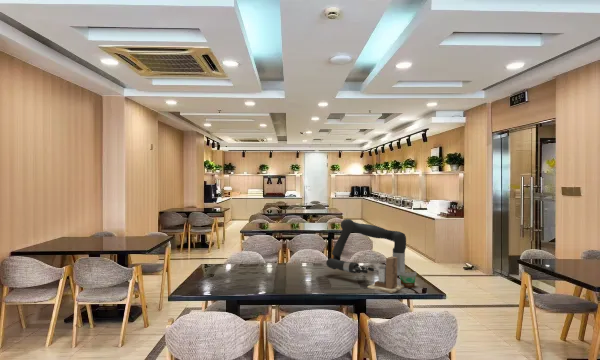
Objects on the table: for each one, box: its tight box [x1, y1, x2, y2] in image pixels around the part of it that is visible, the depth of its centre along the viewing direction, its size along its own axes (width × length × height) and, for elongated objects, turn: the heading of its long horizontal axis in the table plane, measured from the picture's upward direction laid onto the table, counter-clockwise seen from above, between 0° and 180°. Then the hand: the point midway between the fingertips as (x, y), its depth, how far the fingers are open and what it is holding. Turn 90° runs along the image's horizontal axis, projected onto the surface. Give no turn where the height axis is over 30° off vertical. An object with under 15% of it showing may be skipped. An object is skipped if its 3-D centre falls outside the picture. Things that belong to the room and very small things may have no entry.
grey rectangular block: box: [378, 265, 386, 284], centre depth 258 cm, size 5×5×13 cm
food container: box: [399, 271, 417, 289], centre depth 260 cm, size 12×6×10 cm, turn 101°
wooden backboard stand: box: [366, 256, 405, 294], centre depth 257 cm, size 18×18×21 cm
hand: (370, 270), depth 265 cm, fingers open, 8 cm apart
